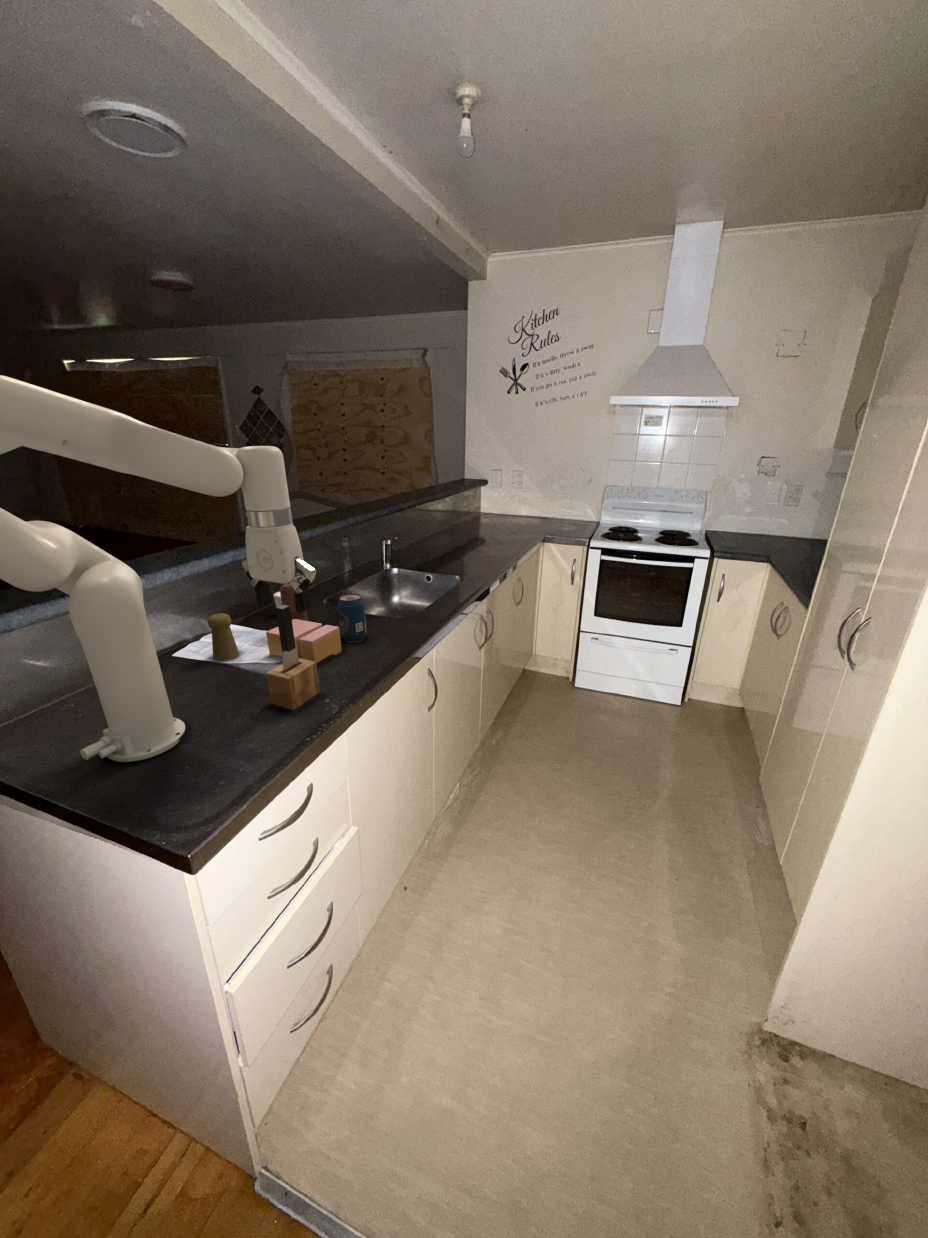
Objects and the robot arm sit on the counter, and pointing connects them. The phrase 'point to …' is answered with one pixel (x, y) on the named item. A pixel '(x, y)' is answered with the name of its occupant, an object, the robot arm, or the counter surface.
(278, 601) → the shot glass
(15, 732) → the counter surface
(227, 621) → the olive pepper shaker
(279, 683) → the knife block
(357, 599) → the soda can
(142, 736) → the robot arm
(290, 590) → the can
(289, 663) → the knife
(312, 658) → the cake slice
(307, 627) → the cake
